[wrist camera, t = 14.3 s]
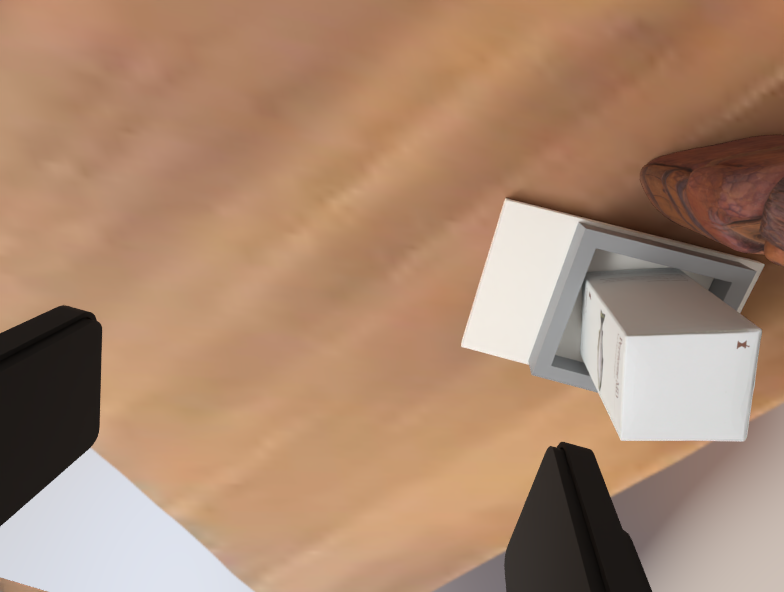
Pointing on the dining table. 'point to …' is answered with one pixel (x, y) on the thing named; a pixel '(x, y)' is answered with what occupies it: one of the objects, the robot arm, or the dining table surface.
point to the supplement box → (668, 356)
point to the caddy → (573, 284)
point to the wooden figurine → (725, 193)
